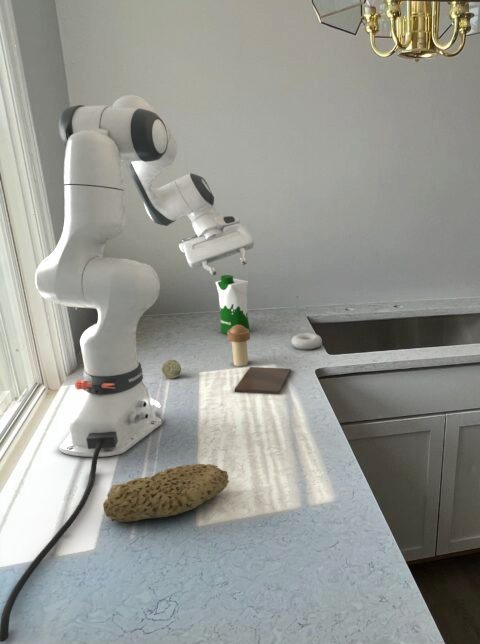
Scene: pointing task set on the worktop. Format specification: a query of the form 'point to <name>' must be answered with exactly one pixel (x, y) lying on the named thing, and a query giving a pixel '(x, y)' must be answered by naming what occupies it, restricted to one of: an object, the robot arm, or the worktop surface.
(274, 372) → the board
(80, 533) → the worktop surface
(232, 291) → the milk carton
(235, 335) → the mushroom
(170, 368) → the olive green ball
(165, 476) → the sponge
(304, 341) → the donut
